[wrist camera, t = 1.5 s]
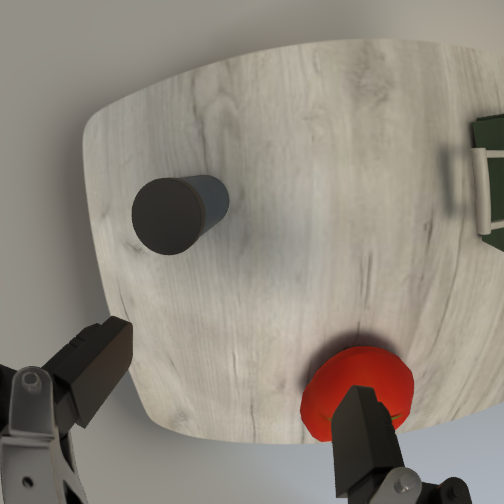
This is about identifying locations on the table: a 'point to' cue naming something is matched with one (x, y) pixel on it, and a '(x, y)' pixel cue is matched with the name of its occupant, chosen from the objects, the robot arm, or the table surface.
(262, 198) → the table surface
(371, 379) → the tomato
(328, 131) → the table surface
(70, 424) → the robot arm
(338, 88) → the table surface
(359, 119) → the table surface
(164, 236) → the plastic container
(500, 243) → the drawer
